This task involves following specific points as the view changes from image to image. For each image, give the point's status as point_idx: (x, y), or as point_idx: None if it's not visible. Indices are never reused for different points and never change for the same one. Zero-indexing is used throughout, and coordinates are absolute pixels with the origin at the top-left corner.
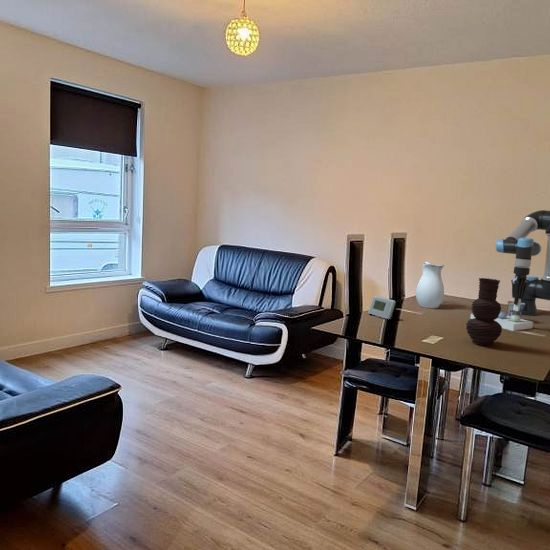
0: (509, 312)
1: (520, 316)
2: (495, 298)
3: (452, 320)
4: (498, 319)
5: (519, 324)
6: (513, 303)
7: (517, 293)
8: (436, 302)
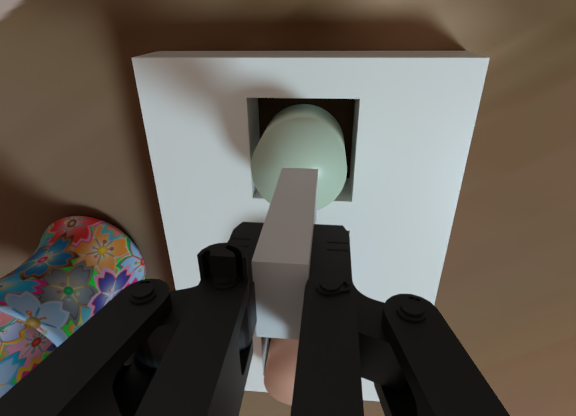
0: None
1: (267, 135)
2: None
3: (544, 395)
4: (404, 241)
5: (380, 57)
6: None
7: (425, 380)
8: None
